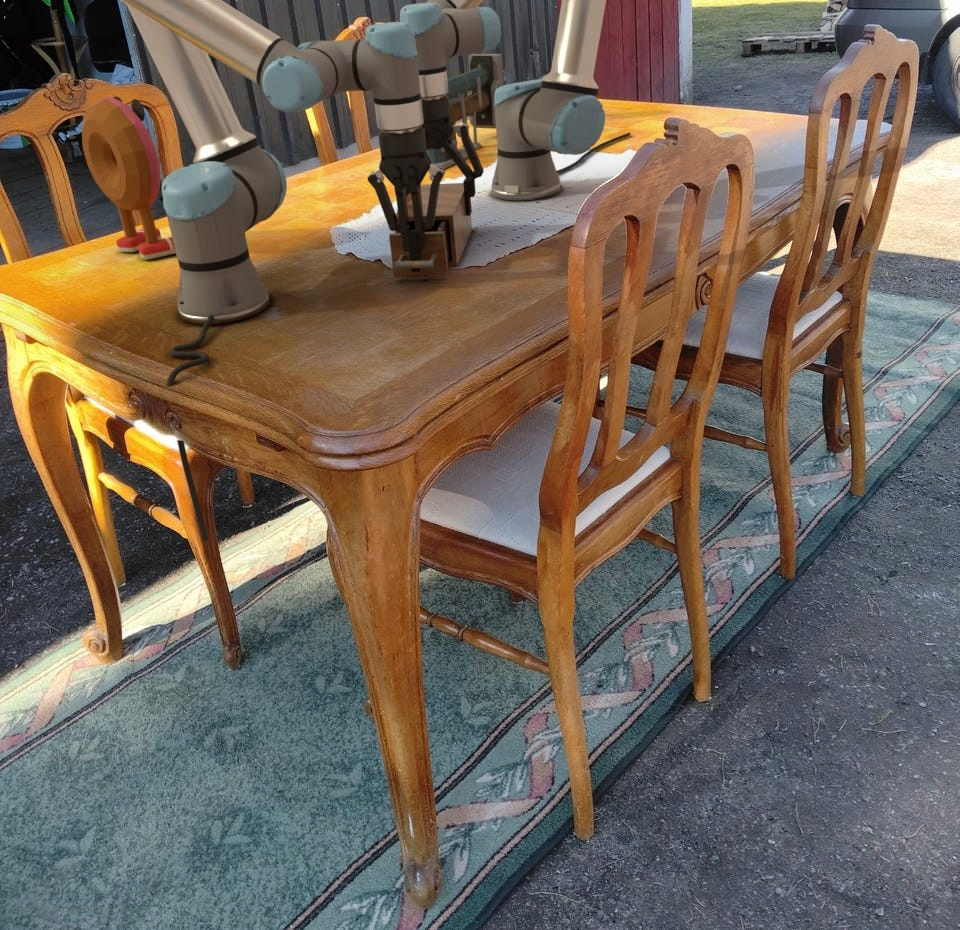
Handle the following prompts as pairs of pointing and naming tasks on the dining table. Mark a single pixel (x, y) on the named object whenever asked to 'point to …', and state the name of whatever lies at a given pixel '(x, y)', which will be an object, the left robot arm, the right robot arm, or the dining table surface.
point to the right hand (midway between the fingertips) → (439, 214)
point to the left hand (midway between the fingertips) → (417, 268)
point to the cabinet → (448, 215)
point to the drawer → (423, 252)
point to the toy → (126, 170)
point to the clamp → (472, 101)
